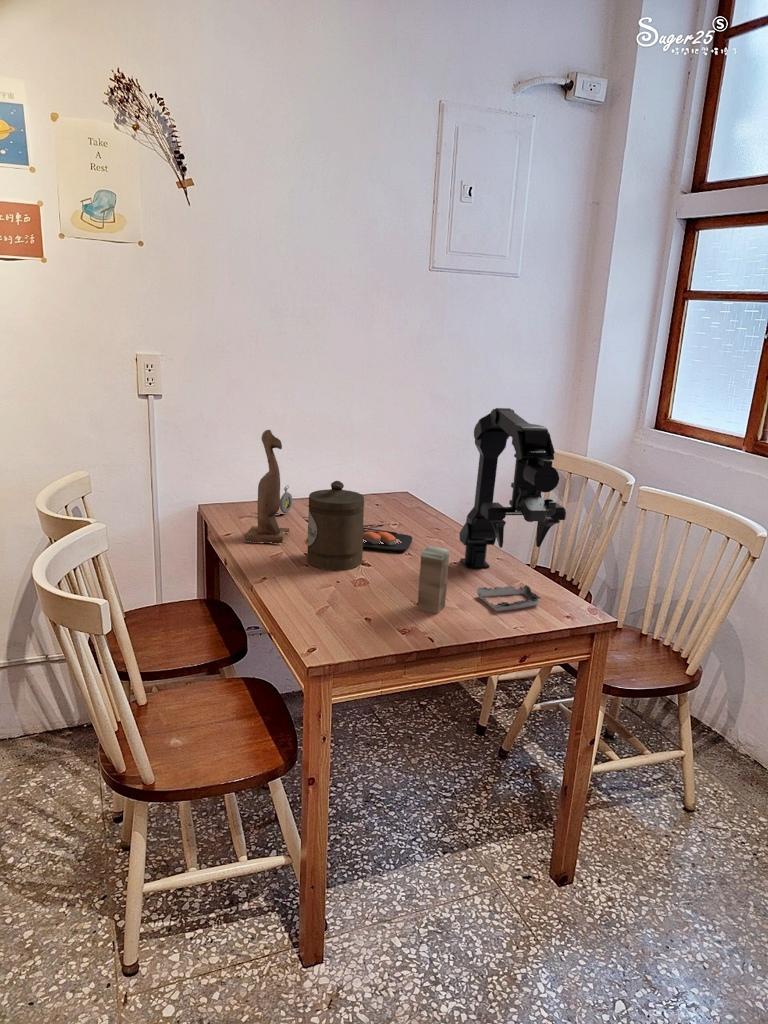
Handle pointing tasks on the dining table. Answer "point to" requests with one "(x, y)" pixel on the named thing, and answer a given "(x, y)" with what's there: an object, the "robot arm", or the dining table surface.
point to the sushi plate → (385, 539)
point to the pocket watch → (285, 501)
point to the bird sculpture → (268, 498)
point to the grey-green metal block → (433, 579)
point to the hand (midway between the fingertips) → (519, 547)
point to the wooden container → (335, 528)
